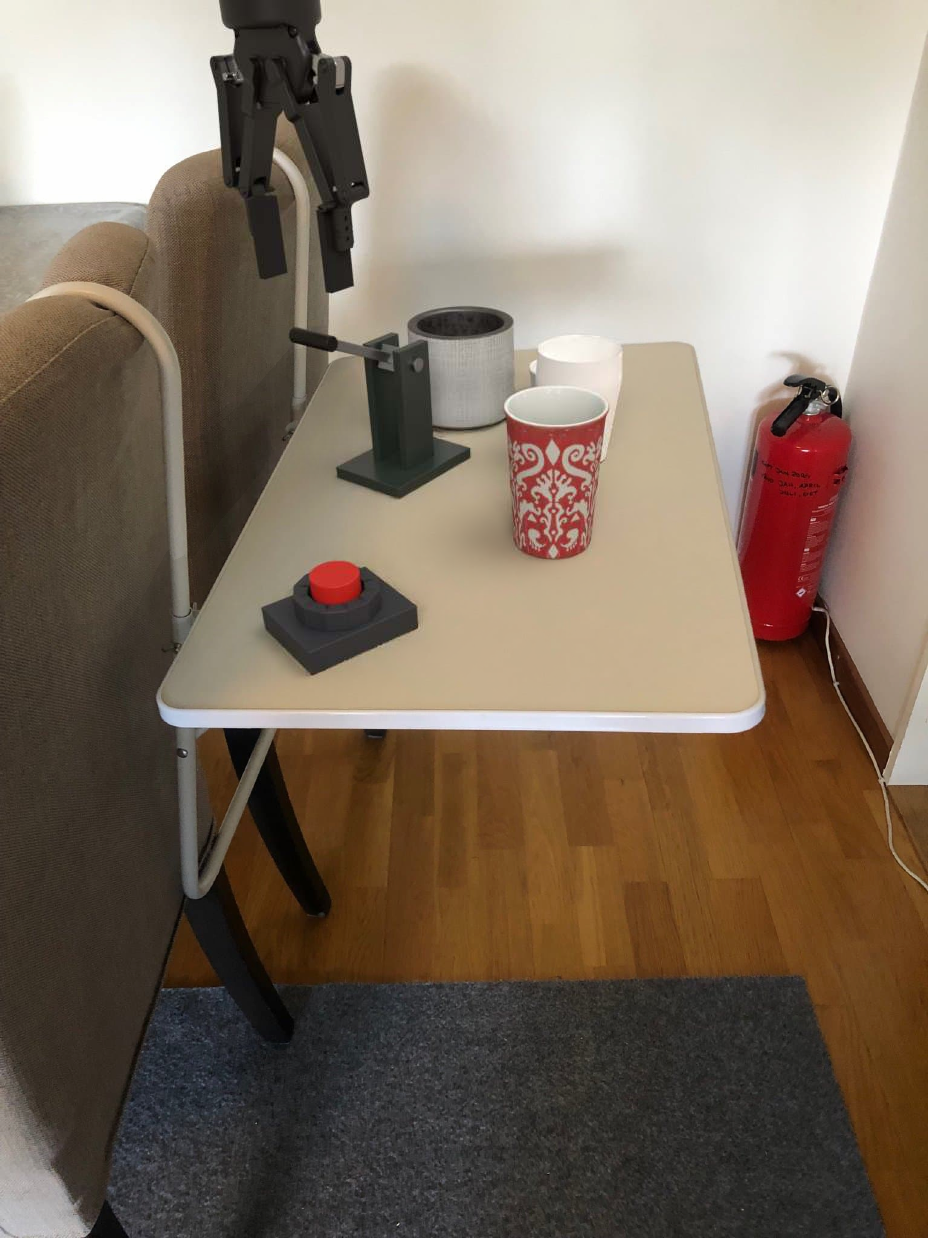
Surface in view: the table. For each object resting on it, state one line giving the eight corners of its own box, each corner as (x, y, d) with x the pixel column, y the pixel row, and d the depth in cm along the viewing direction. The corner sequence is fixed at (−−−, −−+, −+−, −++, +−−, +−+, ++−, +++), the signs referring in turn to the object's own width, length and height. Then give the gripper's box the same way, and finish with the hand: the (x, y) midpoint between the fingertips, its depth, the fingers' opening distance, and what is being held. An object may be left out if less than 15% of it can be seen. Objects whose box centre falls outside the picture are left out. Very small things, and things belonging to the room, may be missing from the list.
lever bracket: (399, 499, 94) (388, 367, 86) (336, 476, 99) (321, 350, 91) (470, 457, 102) (467, 333, 94) (409, 438, 107) (401, 319, 99)
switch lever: (324, 356, 82) (329, 329, 82) (286, 346, 85) (291, 319, 84) (421, 378, 94) (426, 354, 93) (384, 368, 96) (389, 345, 96)
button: (327, 611, 71) (324, 593, 70) (302, 590, 74) (299, 571, 73) (371, 593, 73) (369, 575, 72) (345, 573, 76) (343, 555, 75)
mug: (603, 566, 82) (612, 424, 75) (502, 564, 83) (501, 424, 75) (597, 500, 93) (605, 370, 85) (508, 499, 93) (507, 370, 86)
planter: (534, 406, 113) (535, 314, 107) (475, 441, 105) (472, 345, 99) (452, 386, 120) (449, 299, 113) (391, 419, 111) (383, 327, 105)
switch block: (312, 675, 71) (305, 633, 68) (264, 629, 76) (257, 588, 74) (418, 627, 75) (415, 587, 73) (367, 587, 81) (363, 547, 79)
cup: (621, 472, 98) (629, 361, 91) (536, 474, 98) (538, 364, 91) (611, 437, 105) (618, 332, 98) (532, 439, 105) (533, 335, 98)
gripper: (403, -43, 65) (422, 288, 78) (215, -33, 76) (260, 257, 89) (327, -42, 60) (361, 311, 73) (138, -31, 71) (197, 275, 84)
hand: (305, 281), depth 81 cm, fingers open, 8 cm apart
